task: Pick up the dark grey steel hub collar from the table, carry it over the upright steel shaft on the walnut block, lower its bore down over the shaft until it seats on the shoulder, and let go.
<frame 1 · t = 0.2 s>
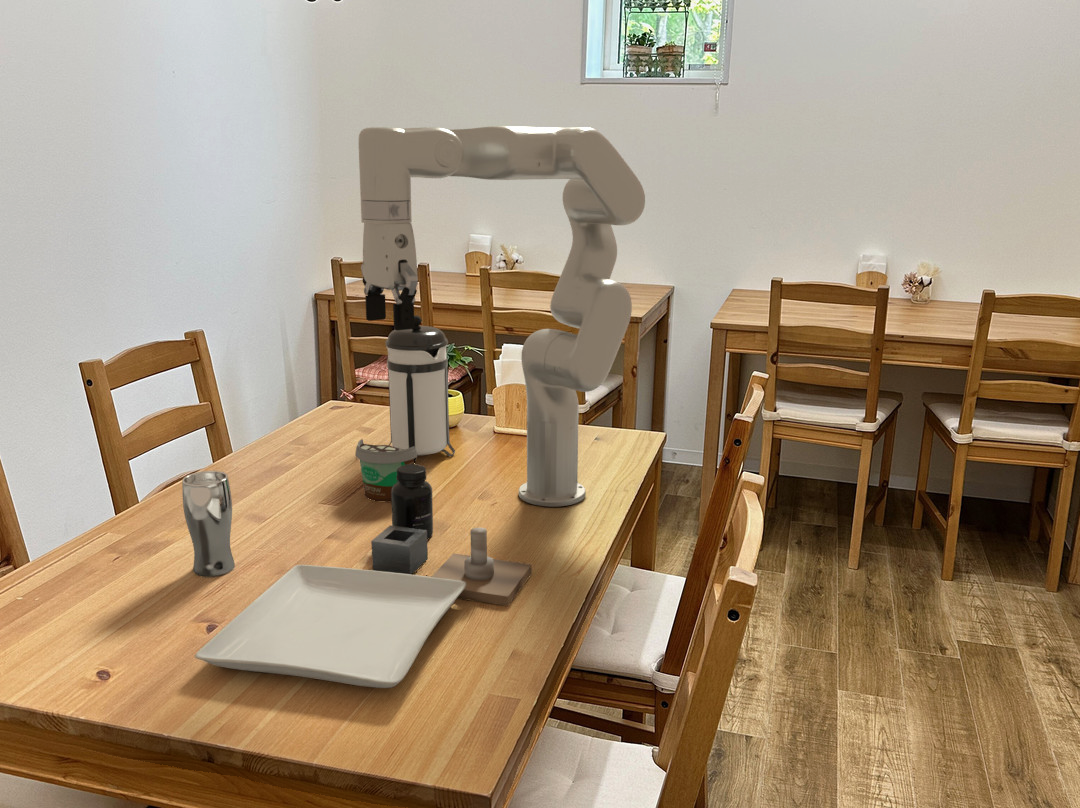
hand: (389, 324, 142), 37 cm above the table, tool pointing down, fingers open, 9 cm apart
food container: (381, 498, 171), on the table
beer glass: (214, 569, 142), on the table
square plate: (342, 639, 123), on the table
shaft block: (479, 582, 137), on the table
hub: (400, 565, 143), on the table
supplement bottle: (413, 536, 154), on the table
coffee press: (416, 453, 196), on the table
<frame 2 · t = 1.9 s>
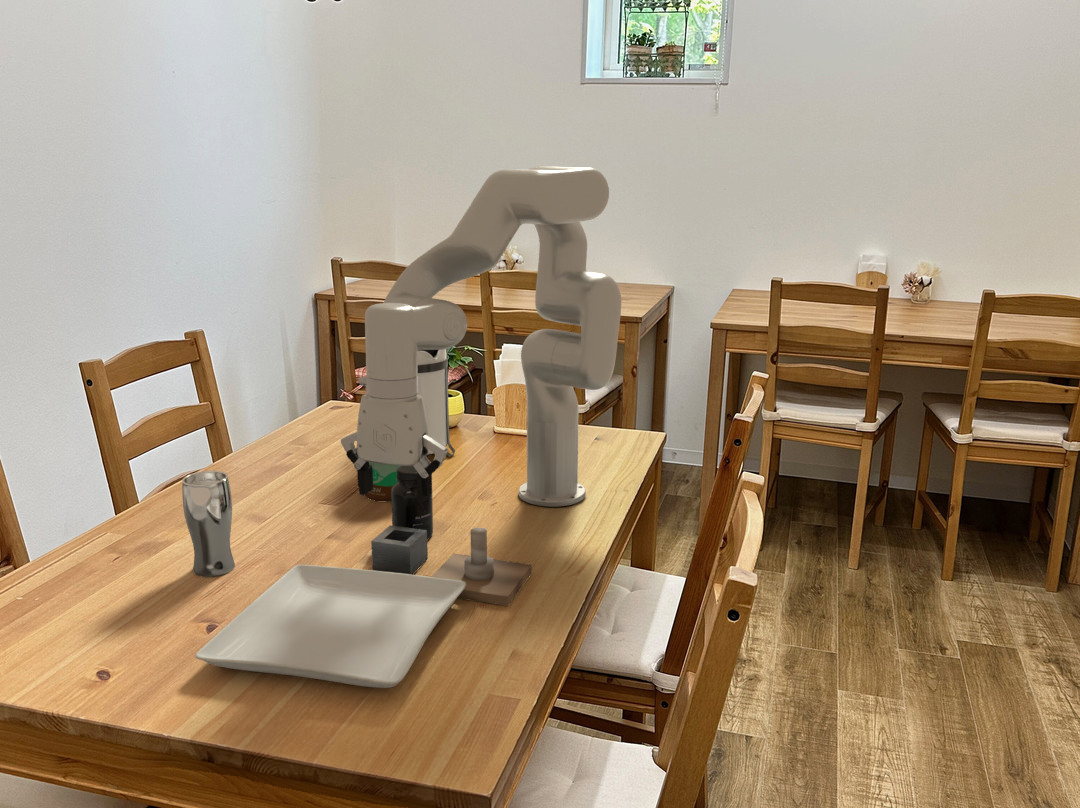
hand: (394, 496, 140), 12 cm above the table, tool pointing down, fingers open, 9 cm apart
nothing on the table moved.
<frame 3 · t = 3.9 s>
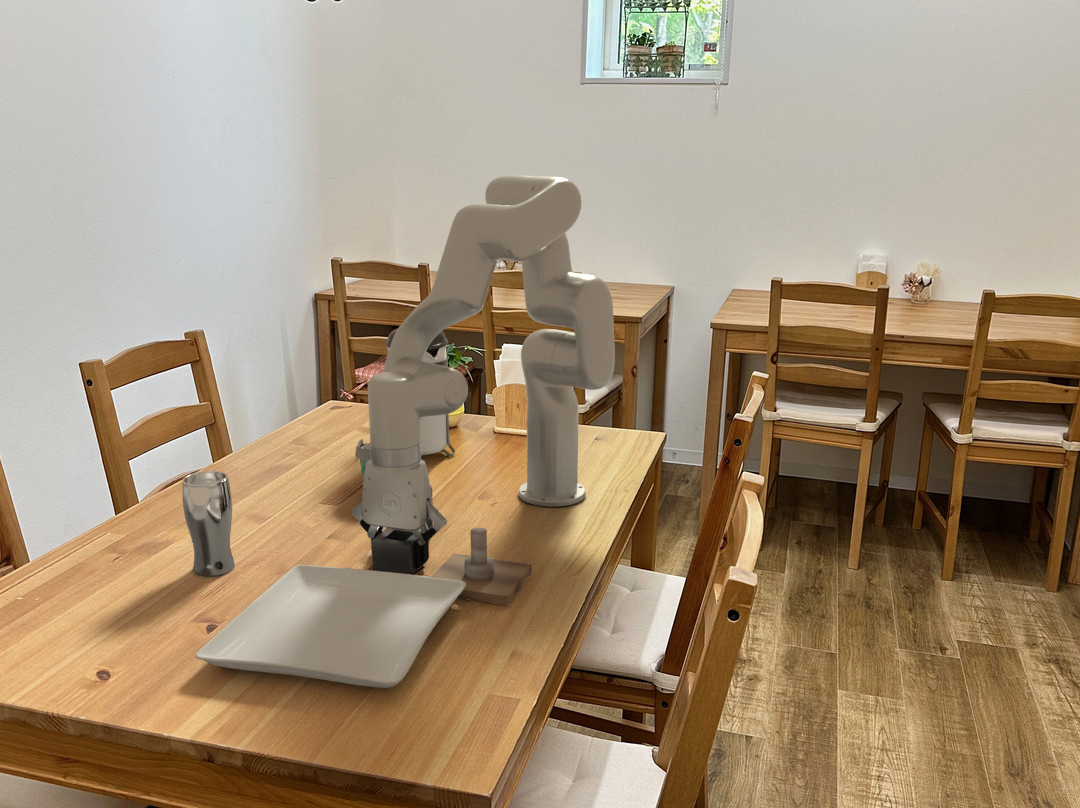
hand: (400, 561, 143), 1 cm above the table, tool pointing down, fingers closed on hub, 6 cm apart
hub: (400, 564, 143), on the table, touching gripper
everything else where it was.
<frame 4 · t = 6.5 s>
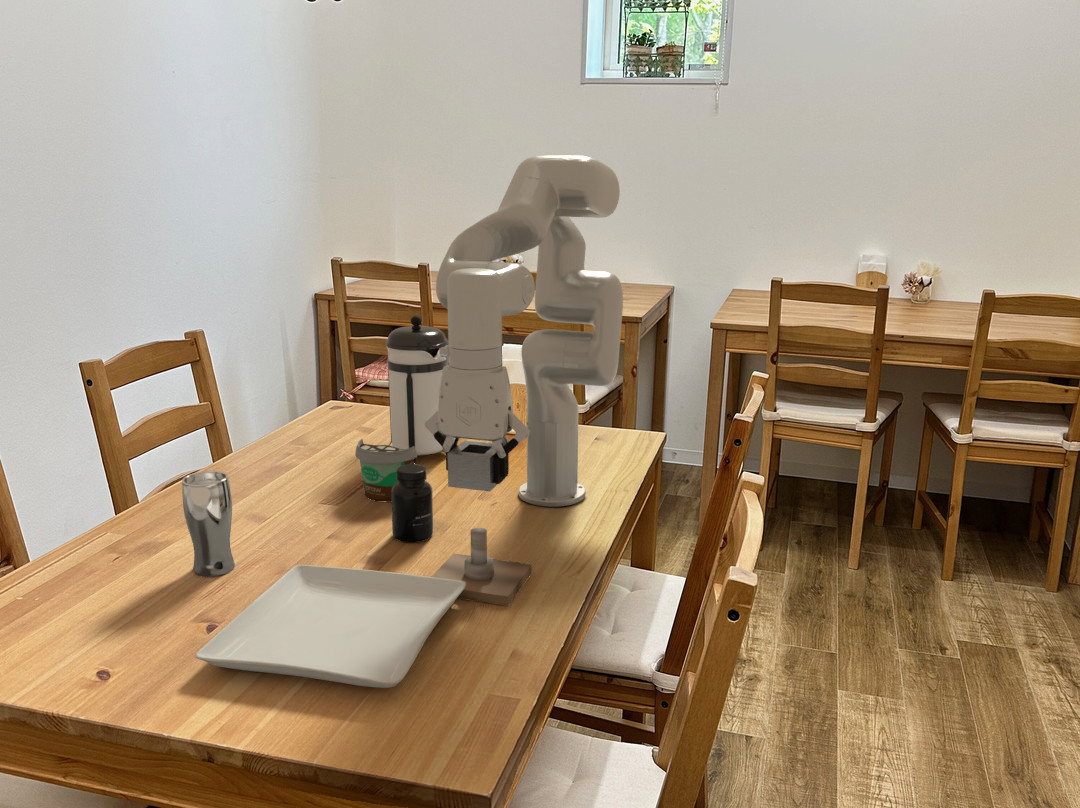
hand: (477, 477, 133), 17 cm above the table, tool pointing down, fingers closed on hub, 6 cm apart
hub: (477, 481, 133), point 16 cm above the table, touching gripper
everything else where it was.
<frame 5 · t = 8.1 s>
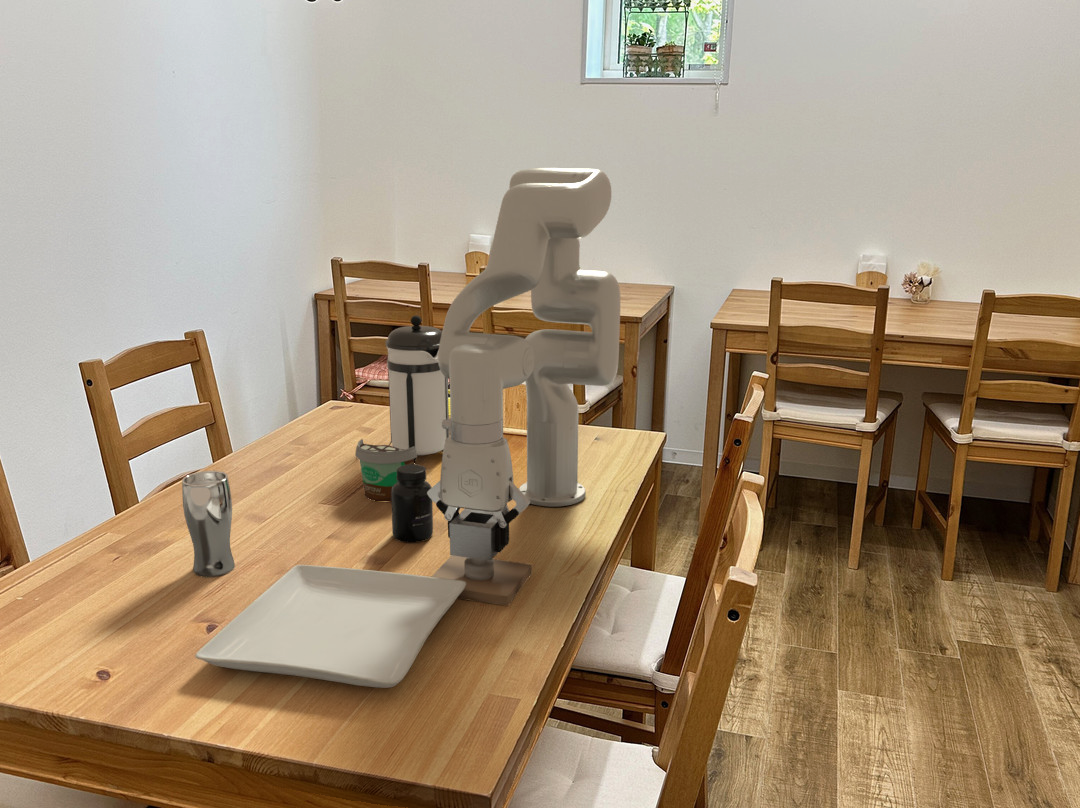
hand: (478, 544, 136), 6 cm above the table, tool pointing down, fingers closed on hub, 6 cm apart
hub: (478, 549, 136), point 6 cm above the table, touching gripper
everything else where it was.
when the fingers open (5 cm above the table, at t = 9.2 s): hub stays where it is, resting on shaft block.
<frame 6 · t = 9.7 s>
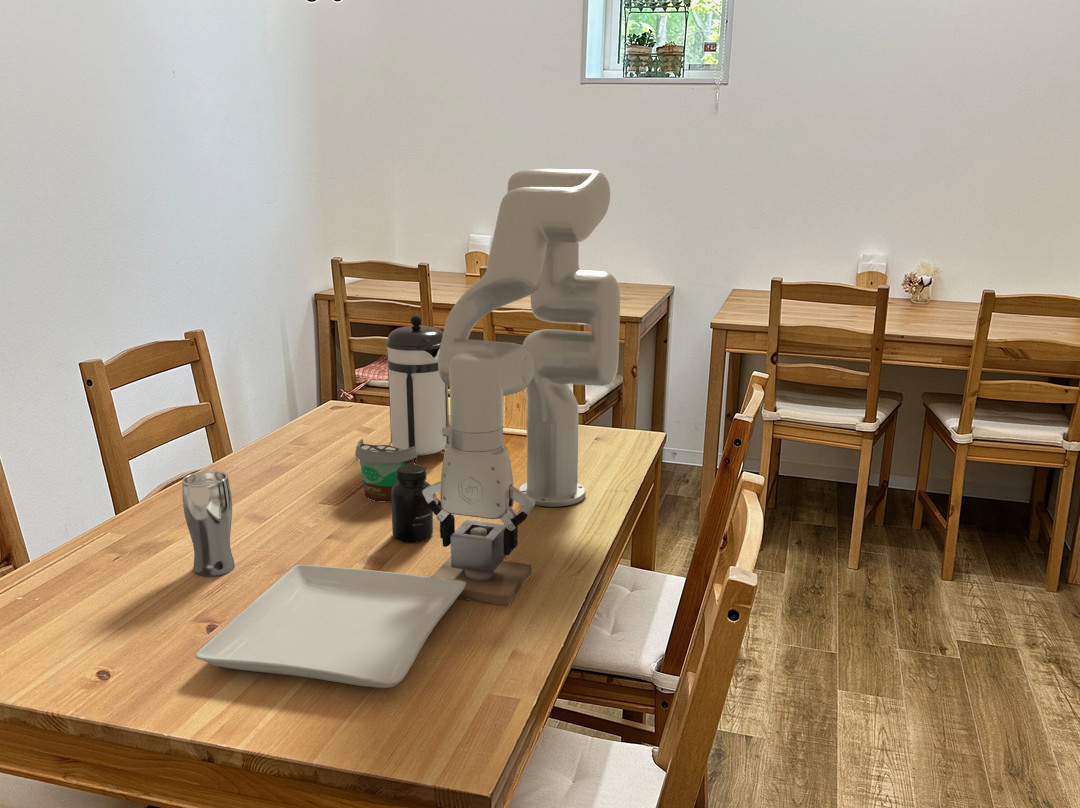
hand: (478, 547, 136), 6 cm above the table, tool pointing down, fingers open, 9 cm apart
hub: (479, 561, 137), point 3 cm above the table, touching shaft block
everything else where it was.
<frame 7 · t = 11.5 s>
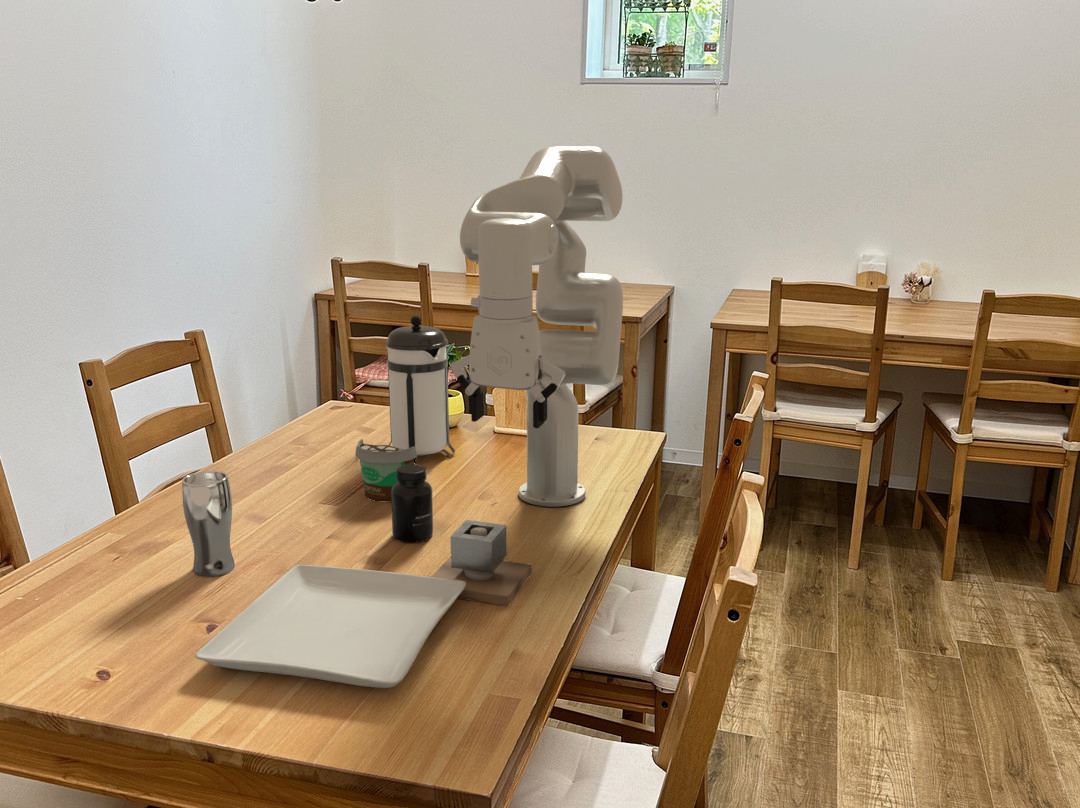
hand: (508, 422, 135), 24 cm above the table, tool pointing down, fingers open, 9 cm apart
nothing on the table moved.
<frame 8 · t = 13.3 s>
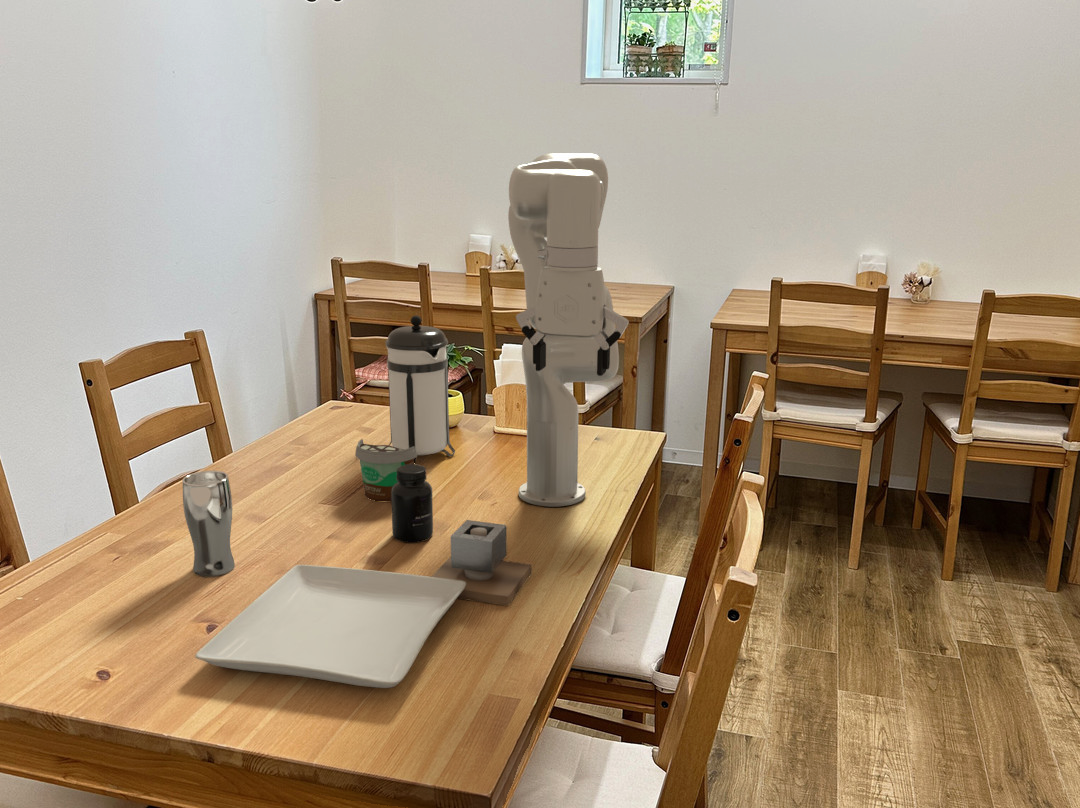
hand: (570, 371, 139), 30 cm above the table, tool pointing down, fingers open, 9 cm apart
nothing on the table moved.
at the end: hub 0.1 cm off-centre on the shaft block, point 3.5 cm above the shaft block's base; hub tilted 0°; the gripper is holding nothing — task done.
